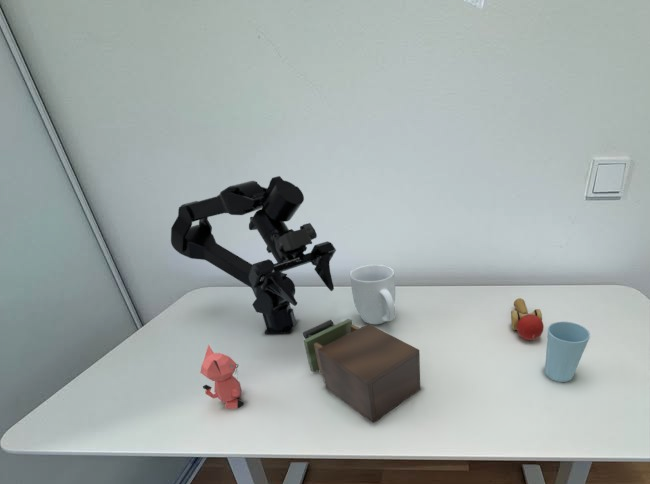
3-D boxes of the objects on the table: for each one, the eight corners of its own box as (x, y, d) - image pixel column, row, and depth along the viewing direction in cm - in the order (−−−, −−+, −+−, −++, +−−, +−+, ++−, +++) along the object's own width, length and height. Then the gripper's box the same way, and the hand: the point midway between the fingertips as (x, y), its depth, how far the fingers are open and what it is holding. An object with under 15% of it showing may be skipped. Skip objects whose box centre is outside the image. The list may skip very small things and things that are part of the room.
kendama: (500, 312, 102) (511, 340, 85) (507, 291, 99) (519, 315, 83) (528, 317, 102) (544, 346, 86) (535, 296, 99) (553, 321, 83)
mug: (413, 327, 94) (411, 279, 87) (374, 341, 89) (369, 291, 82) (384, 304, 105) (380, 260, 97) (348, 316, 100) (342, 270, 92)
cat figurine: (253, 405, 71) (235, 355, 65) (215, 420, 68) (191, 368, 62) (245, 386, 76) (227, 337, 70) (209, 398, 73) (187, 348, 67)
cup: (575, 390, 73) (587, 346, 67) (536, 379, 76) (544, 336, 70) (580, 368, 78) (592, 326, 72) (543, 359, 81) (551, 318, 75)
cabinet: (325, 388, 75) (317, 349, 70) (372, 360, 83) (368, 323, 77) (373, 423, 67) (367, 382, 61) (420, 389, 74) (419, 349, 69)
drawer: (299, 362, 81) (291, 332, 77) (341, 341, 88) (336, 312, 84) (349, 399, 71) (344, 367, 66) (393, 372, 78) (390, 340, 73)
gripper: (238, 223, 67) (284, 296, 67) (324, 203, 78) (363, 266, 78) (232, 254, 76) (272, 319, 76) (309, 232, 87) (344, 289, 87)
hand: (314, 297), depth 79 cm, fingers open, 9 cm apart
